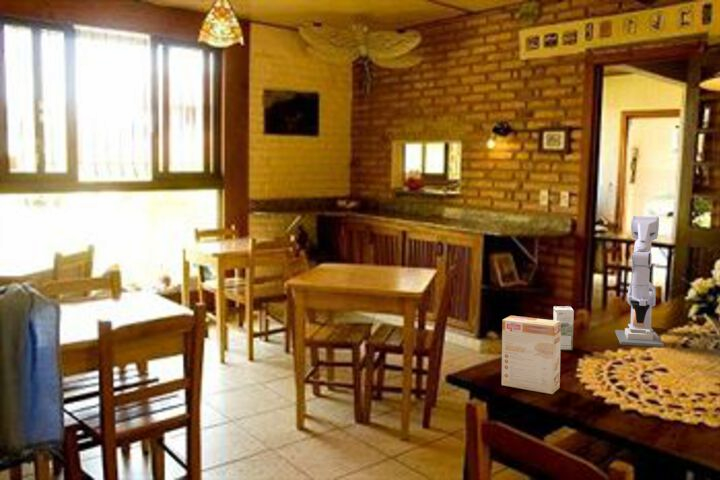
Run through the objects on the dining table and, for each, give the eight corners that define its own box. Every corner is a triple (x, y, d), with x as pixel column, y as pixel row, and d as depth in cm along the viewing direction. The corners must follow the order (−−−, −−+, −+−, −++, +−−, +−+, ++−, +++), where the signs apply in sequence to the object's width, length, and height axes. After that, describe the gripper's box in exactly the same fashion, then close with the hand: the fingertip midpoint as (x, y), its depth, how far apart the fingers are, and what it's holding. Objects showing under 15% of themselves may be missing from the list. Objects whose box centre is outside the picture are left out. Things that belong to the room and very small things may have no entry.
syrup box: (568, 346, 225) (570, 305, 224) (572, 350, 219) (573, 309, 218) (552, 345, 226) (553, 305, 224) (555, 350, 220) (556, 309, 218)
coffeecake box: (560, 387, 182) (561, 320, 180) (552, 395, 176) (554, 325, 174) (509, 378, 190) (510, 314, 188) (500, 385, 184) (501, 319, 182)
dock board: (615, 332, 244) (615, 324, 244) (655, 334, 240) (655, 326, 240) (620, 344, 227) (621, 336, 226) (663, 347, 223) (664, 338, 223)
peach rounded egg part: (632, 324, 235) (632, 308, 235) (643, 324, 234) (644, 308, 234) (633, 326, 231) (634, 310, 231) (645, 327, 230) (646, 311, 230)
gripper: (626, 280, 239) (624, 316, 241) (631, 287, 225) (629, 325, 227) (646, 281, 237) (645, 317, 239) (652, 288, 224) (651, 326, 225)
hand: (639, 321), depth 233 cm, fingers closed on peach rounded egg part, 4 cm apart
